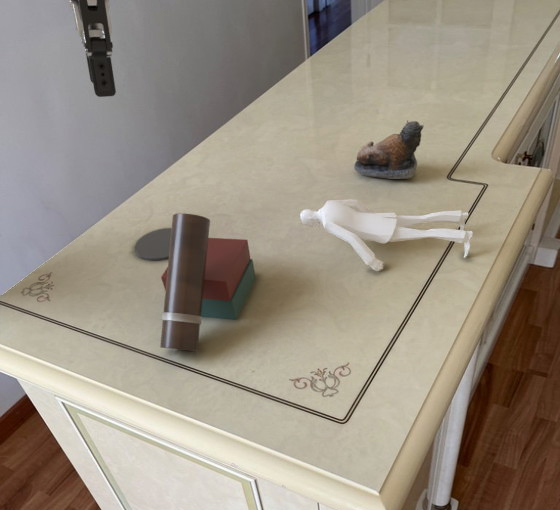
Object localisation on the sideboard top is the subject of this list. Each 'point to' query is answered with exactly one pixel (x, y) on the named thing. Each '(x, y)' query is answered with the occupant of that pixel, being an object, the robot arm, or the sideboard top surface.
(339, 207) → the male figurine
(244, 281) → the red and teal box
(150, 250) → the coaster
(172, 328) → the pepper mill
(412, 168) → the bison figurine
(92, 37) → the robot arm
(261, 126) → the sideboard top surface
